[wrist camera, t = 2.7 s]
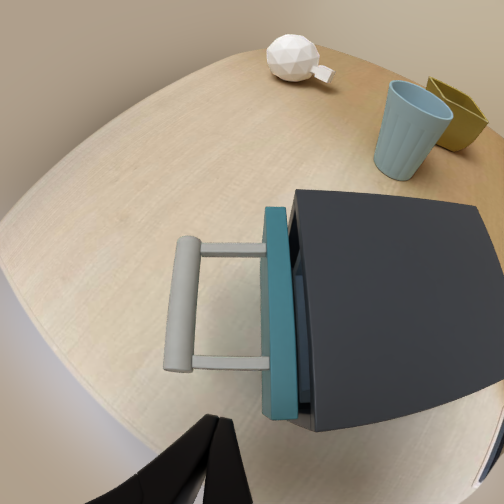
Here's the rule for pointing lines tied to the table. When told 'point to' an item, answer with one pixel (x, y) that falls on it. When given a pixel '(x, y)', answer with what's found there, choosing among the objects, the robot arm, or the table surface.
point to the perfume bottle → (296, 59)
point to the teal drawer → (272, 316)
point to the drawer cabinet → (393, 305)
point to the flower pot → (458, 116)
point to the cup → (409, 129)
